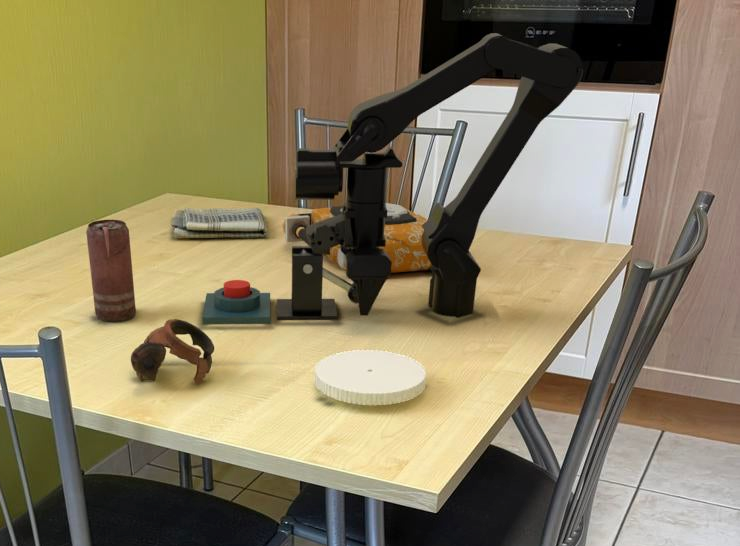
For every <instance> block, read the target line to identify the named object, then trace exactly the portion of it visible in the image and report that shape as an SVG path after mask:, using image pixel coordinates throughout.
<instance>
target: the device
mask: <svg viewBox="0 0 740 546" xmlns="http://www.w3.org/2000/svg"><path fill="white" fill-rule="evenodd" d="M386 208H387V210H388V211H387V218H385V229H384V236H385V239H386V244H385V247H379V248H380V249H384V250H385V251H386V252H387V253H388V254H389V256H390V259H391V261H392V266H391V274H392V273H407V272H418V271H430V272H431V273H432V271H433V270H437V269H438V268H436V267H434V266H433V265H432V264H431V262H430V261H429V259H428V257H427V255H426V253H425V251H424V249H423V246H422V240H421V238H422V234H423V232H424V229H423V227H422V225H423V224H424V223H425V222H426V221H427V220H428V219H427V218H425V216H423V215H421V214H416V213H415V212H413V211H411V210H409V209H407V208H405V207H404V206H402V205H401V204H397V203H396V204H395V203H389V202H386ZM342 210H343V205H341V206H340V205H339V206H331V207H322V208H312V210H311V212H309V213H308V212H307V213H290V214H288V215H286V216H285V217H284V218H283V220H282V223H281V226H282V231H283V233H284V241H285V242H286V243H296V242H305V244H307V246H310V243H309V240H308V237H307V234H306V227H307V226H309V225H311V224H314V223H317V222H319V221H322V220H325V219H327V218H330V217H334V216H337V215H340V214H342ZM322 254H323V256H325V257H327V258H328V259H329V260H330V261H332V263H334V264H338V266H339V267H340V268H341V269H344V270H345V258H346V256H345V255H344V254H343V253H342V251H341V249H340V244H339V245H337V246H334V247H331V248H329V249H326V250H324V251H323V252H322Z"/></svg>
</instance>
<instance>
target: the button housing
mask: <svg viewBox="0 0 740 546" xmlns="http://www.w3.org/2000/svg"><path fill="white" fill-rule="evenodd" d="M201 319H202V320H201V321H202V323H201V324H202V325H271V292H261V291H260V290H259V289H257V288H255V287H252V286H250V296H248V297H244V298H229V297H225V296H224V287H220V288H218V289H216V290H214V292H207V293H206V295H205V300H204V305H203V311H202V317H201Z"/></svg>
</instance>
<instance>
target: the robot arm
mask: <svg viewBox="0 0 740 546" xmlns="http://www.w3.org/2000/svg"><path fill="white" fill-rule="evenodd" d="M583 67H584V66H583V61H582V59H581V57H580V54H579V53H577V52H576V50H574V49H572V48H569V47H566V46H564V45H562V44H558V43H547V44H543V45H541V46H539V47H537V46H534V45H530V44H527V43H523V42H521V41H517V40H513V39H510V38H508V37H507V36H504V35H501V34H500V33H498V32H497V33H496V32H494V33H492V32H491V33H489V34H486V35H485V36H484V37H482V38H481V40H480V41H478V42H477V43H475V44H474V45H471V46H470V47H469V48H467V49H465V50H463V51H462V52H460V53H459V54H457V55H455V56H454V57H451V59H449V60H447V61H446V62H444V63H442V64H441V65H439V66H437V67H436V68H435V69H434V68H433V69H432V70H431V71H429V72H428V73H426V74H424V75H422V76H420V78H418V79H416V80H414V81H413V82H410V84H407V85H406V86H404V87H402V88H399V89H397V90H393V91H390V92H386V93H384V94H380V95H378V96H375V97H372V98H370V99H367V100H365V101H363V102H360V103H358V104H357V105H356V106H355V107H353V108H352V110H351V111H350V113H349V116H348V119H347V128H346V130H345V131H344V132H343V133H342V135H341V136H340V137H339V139H338V140H337V141H336V142H335V144H334V145H333V149H311V148H307V147H305V148H304V147H303V148H302V147H298V148H297V149H296V165H295V166H296V168H295V169H294V200H295V201H314V200H315V201H318V200H319V201H322V200H323V201H325V200H328V201H329V200H331V201H333V200H335V196H339V193H343V189H344V188H343V187H344V169H346V170H347V171H346V193H345V194H346V197H345V202H344V204H343V205H342V206H343V210H342V214H340V215H337V216H334V217H330V218H327V219H325V220H322V221H319V222H317V223H314V224H311V225H309V226H307V227H306V234H307V237H308V240H309V243H310V246H311V248H312V251H313V254H319V253H322V252H323V251H324V250H326V249H329V248H331V247H334V246H337V245H339V244H340V249H341V251H342V253H343V254H344V255H345V256H346V258H345V269H344V270H345V274H346V278H348V280H350V281H352V284H353V283H355V284H356V290H357V297H358V311H359V315H360V316H361V317H367V316H368V315H369V314H370V312H371V309H372V308H373V306H374V304H375V301H376V300H377V298H378V296H379V294H380V292H381V290H382V288H383V286H384V285H385V283H386V281H387V280H388V279H389V277H390V276H391V275H392V273H391V266H392V261H391V259H390V256H389V254H388V253H387V252H386V251H385V250H384V249H380V248H379V247H385V244H386V239H385V236H384V229H385V218H387V211H388V210H387V208H386V203H387V196H388V195H387V191H388V179H389V178H388V177H389V169H392V168H393V169H394V168H395V169H398V168H399V169H400V168H402V167H403V161H402V160H401V158H400V157H399V156H398V155H396V153H395V150H394V149H393V147H392V146H388V145H389V144H390V143H392V142H393V141H394V140H395V139H397V137H399V136H400V135H401V134H403V132H404V131H405V130H406V129H407V128H408V127H409V126H410V124H412V123H413V122H414V121H415V120H416V119H417V118H419V116H421V115H423V114H424V113H426V112H428V111H429V110H431V109H432V108H434V107H436V106H438V105H439V104H441V103H443V102H444V101H447V100H448V99H450V98H452V96H454V95H456V94H457V93H459V92H461V91H462V90H464V89H467V87H470V86H472V85H473V84H474V83H476V82H478V81H479V80H481V79H483V78H484V77H486V76H488V75H489V74H491V73H493V72H494V71H497V70H501V71H504V72H508V73H510V74H513V75H515V76H516V75H517V76H519V77H521V78H520V80H519V83H518V87H517V91H516V94H515V98H514V101H513V103H512V106H511V108H510V109H509V111H508V113H506V116H505V117H504V119H503V121H502V122H501V124H500V125H499V127H498V129H497V131H496V132H495V133H494V135H493V137H492V138H491V140H490V142H489V143H488V145H487V147H486V148H485V150H484V151H483V153H482V155H481V156H480V158H479V160H478V161H477V163H476V164H475V166H474V168H473V169H472V171H471V173H470V174H469V176H468V177H467V178H466V181H465V182H464V184H463V185H462V187H461V189H460V190H459V192H458V193H457V194H456V196H455V198H454V199H452V200H451V201H450V202H449V203H448V204H447V205H445V206H443V205H442V204H441V203H440V202H436V203H435V205H434V207H433V210H432V212H431V214H430V216H429V218H428V219H427V221H426V222H425V223H424V224H423V225H422V227H423V229H424V232H423V234H422V238H421V240H422V246H423V249H424V251H425V253H426V255H427V257H428V259H429V261H430V262H431V264H432V265H433V266H434V267H436V268H438V269H437V270H433V271H432V272H431V279H430V280H429V289H428V292H429V293H428V302H427V305H428V306H429V308H431V311H432V312H433V313H435V314H437V315H439V316H444V317H453V318H457V319H459V318H463V317H466V316H469V315H473V314H474V308H475V299H476V291H477V283H478V278H479V275H480V274H481V271H482V268H481V267H480V265H479V263H478V262H477V260H476V259H475V257H474V256H473V254H472V253H471V251H470V249H471V246H472V244H473V242H474V239H475V236H476V233H477V230H478V227H479V222H480V219H481V216H482V215H483V213H484V210H485V209H486V208H487V206H488V205H489V203H490V202H491V200H492V198H493V197H494V196H495V194H496V193H497V190H498V189H499V188H500V186H501V185H502V182H503V181H504V180H505V178H506V177H507V175H508V174H509V172H510V170H511V169H512V168H513V165H514V164H515V162H516V161H517V159H518V157H519V156H520V155H521V153H522V152H523V150H524V148H525V147H526V145H527V144H528V142H529V140H530V139H531V137H532V136H533V134H534V132H535V131H536V130H537V128H538V127H539V125H540V124H541V123H542V122H543V121H544V120H545V118H547V117H548V116H549V115H551V114H552V113H553V112H554V111H556V109H558V108H559V107H560V106H561V105H562V104H563V103H564V101H565V100H566V99H567V98H568V97H569V96H570V95H571V94H572V92H573V91H574V90H575V89H576V88H577V86H578V85H579V83H580V81H581V79H582V77H583V74H584V68H583ZM386 147H387V148H386ZM385 148H386V150H384V151H382V150H383V149H385ZM379 151H382V152H379ZM361 156H362V158H360V157H361Z"/></svg>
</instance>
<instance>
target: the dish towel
mask: <svg viewBox="0 0 740 546" xmlns="http://www.w3.org/2000/svg"><path fill="white" fill-rule="evenodd" d="M170 226H171V228H172V227H173V228H174V231H173V233H174V236H173V238H174V239H217V238H235V239H236V238H237V239H240V238H241V239H242V238H246V239H248V238H251V239H252V238H253V239H254V238H264V237H267V235H268V234H269V230H268V229H267V221H266V218H265V215H264V213H263V212H262V210H261V208H259V207H251V208H250V207H249V208H228V209H227V208H202V209H201V208H200V209H196V208H195V209H194V208H189V207H185V208H184V210H183V209H182V210H181V209H176V210H175V213H174V217H173V220H172V222H171V223H170Z"/></svg>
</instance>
